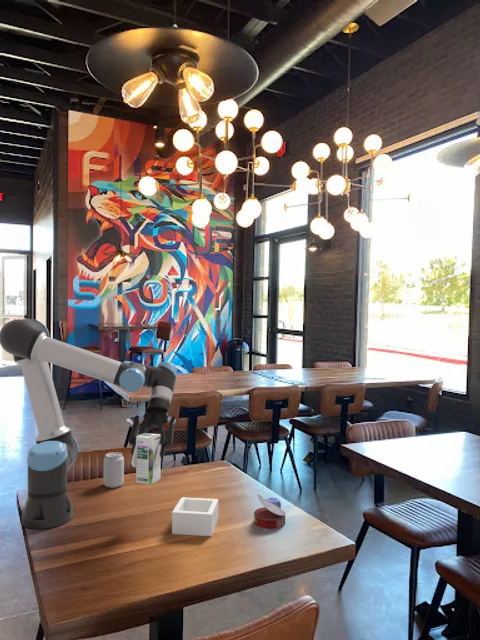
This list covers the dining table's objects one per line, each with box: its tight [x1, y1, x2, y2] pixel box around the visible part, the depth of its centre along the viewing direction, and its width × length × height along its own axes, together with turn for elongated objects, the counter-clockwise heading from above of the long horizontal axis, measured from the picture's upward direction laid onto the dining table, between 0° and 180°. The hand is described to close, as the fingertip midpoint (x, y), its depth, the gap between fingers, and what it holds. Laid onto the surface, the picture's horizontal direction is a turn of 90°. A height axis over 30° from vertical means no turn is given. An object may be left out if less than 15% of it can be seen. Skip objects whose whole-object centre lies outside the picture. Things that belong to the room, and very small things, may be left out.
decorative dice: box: [266, 497, 282, 510], centre depth 164 cm, size 4×4×4 cm
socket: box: [171, 496, 219, 537], centre depth 151 cm, size 12×12×6 cm
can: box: [103, 451, 125, 489], centre depth 187 cm, size 8×8×12 cm
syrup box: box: [135, 432, 161, 485], centre depth 154 cm, size 6×6×14 cm
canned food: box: [253, 493, 286, 530], centre depth 155 cm, size 11×10×10 cm
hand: (145, 465), depth 150 cm, fingers closed on syrup box, 7 cm apart
